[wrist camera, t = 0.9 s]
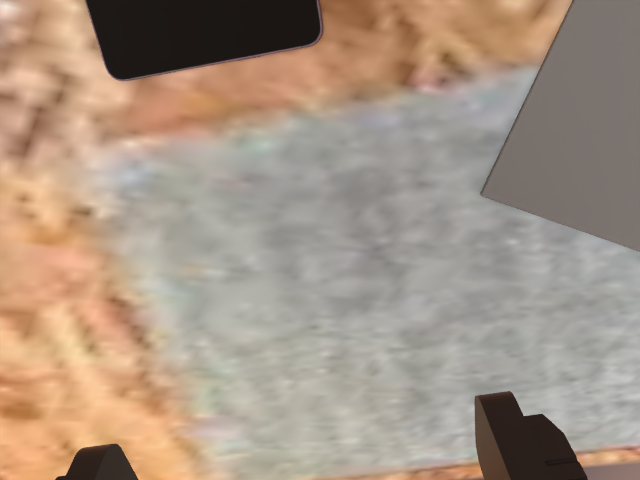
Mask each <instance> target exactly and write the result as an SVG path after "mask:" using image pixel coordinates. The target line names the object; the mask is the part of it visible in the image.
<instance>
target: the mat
mask: <svg viewBox="0 0 640 480" xmlns="http://www.w3.org/2000/svg"><path fill="white" fill-rule="evenodd" d="M480 195H481V196H484V197H487V198H489V199H492V200H495V201H498V202H501V203H504V204H506V205H509V206H512V207H515V208H518V209H521V210H523V211H526V212H529V213H532V214H535V215H538V216H540V217H543V218H546V219H549V220H552V221H555V222H557V223H560V224H563V225H566V226H569V227H572V228H574V229H577V230H580V231H583V232H586V233H589V234H592V235H594V236H597V237H600V238H603V239H606V240H609V241H611V242H614V243H617V244H620V245H623V246H626V247H628V248H631V249H634V250H637V251H640V0H573V1H572V3H571V5H570V7H569V9H568V12H567V14H566V16H565V18H564V20H563V22H562V24H561V26H560V28H559V30H558V33H557V35H556V37H555V39H554V41H553V43H552V45H551V47H550V49H549V51H548V53H547V56H546V58H545V60H544V62H543V64H542V66H541V68H540V70H539V72H538V74H537V77H536V79H535V81H534V83H533V85H532V87H531V89H530V91H529V93H528V95H527V97H526V100H525V102H524V104H523V106H522V108H521V110H520V112H519V114H518V116H517V118H516V121H515V123H514V125H513V127H512V129H511V131H510V133H509V135H508V137H507V139H506V141H505V144H504V146H503V148H502V150H501V152H500V154H499V156H498V158H497V160H496V162H495V165H494V167H493V169H492V171H491V173H490V175H489V177H488V179H487V181H486V183H485V185H484V188H483V190H482V192H481V194H480Z"/></svg>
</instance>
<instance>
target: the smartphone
mask: <svg viewBox="0 0 640 480" xmlns="http://www.w3.org/2000/svg"><path fill="white" fill-rule="evenodd" d="M85 2H86V5H87V9H88V12H89V15H90V18H91V22H92V25H93V28H94V32H95V35H96V38H97V41H98V45H99V48H100V51H101V54H102V58H103V61H104V64H105V67H106V69H107V71H108V73H109V74H110V75H111V76H112V77H113V78H114V79H116V80H119V81H128V80H134V79H139V78H144V77H150V76H155V75H160V74H166V73H171V72H176V71H182V70H187V69H192V68H198V67H203V66H208V65H214V64H219V63H224V62H230V61H235V60H237V61H238V60H244V59H249V58H254V57H259V56H261V55H267V54H272V53H277V52H283V51H288V50H293V49H299V48H304V47H308V46H311V45H314V44H315V43H317V42H318V41H319V39H320V38H321V36H322V32H323V23H322V17H321V10H320V4H319V0H85ZM294 47H295V48H294ZM278 50H279V51H278ZM273 51H274V52H273ZM257 54H258V55H257ZM241 57H242V58H241ZM225 60H226V61H225ZM220 61H221V62H220ZM204 64H205V65H204ZM188 67H189V68H188ZM167 71H168V72H167ZM151 74H152V75H151Z"/></svg>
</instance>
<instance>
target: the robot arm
mask: <svg viewBox="0 0 640 480" xmlns="http://www.w3.org/2000/svg"><path fill="white" fill-rule="evenodd" d="M475 436H476V448H477V454H478V459H479V463H480V467H481V470H482V473H483V476H484V479H485V480H588V479H587V476H586V474H585V472H584V471H583V468H582V467H581V465H580V463H579V462H578V461H577V458H576V455H575V454H574V452H573V450H572V448H571V446H570V444H569V442H568V440H567V439H566V437H565V435H564V433H563V432H562V431H561V430H560V429H558V428H557V427H556V426H555V425H554V424H553V423H552V422H551V421H550V420H549V419H547V418H546V417H545V416H544V415H543V414H538V415H530V416H523V414H522V412H521V409H520V407H519V405H518V403H517V401H516V399H515V397H514V395H513V394H512V393H511V392H510V391H508V392H500V393H493V394H486V395H478V396H475ZM55 480H138V478H137V476H136V474H135V472H134V471H133V469H132V467H131V465H130V463H129V462H128V460H127V458H126V456H125V454H124V452H123V451H122V449H121V447H120V446H119V445H118V444H108V445H101V446H93V447H86V448H82V449H80V450H79V451H78V452H77V454H76V455H75V457H74V459H73V462H72V464H71V466H70V468H69V470H68V472H67V474H66V476H59V477H57V478H56V479H55Z"/></svg>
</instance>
